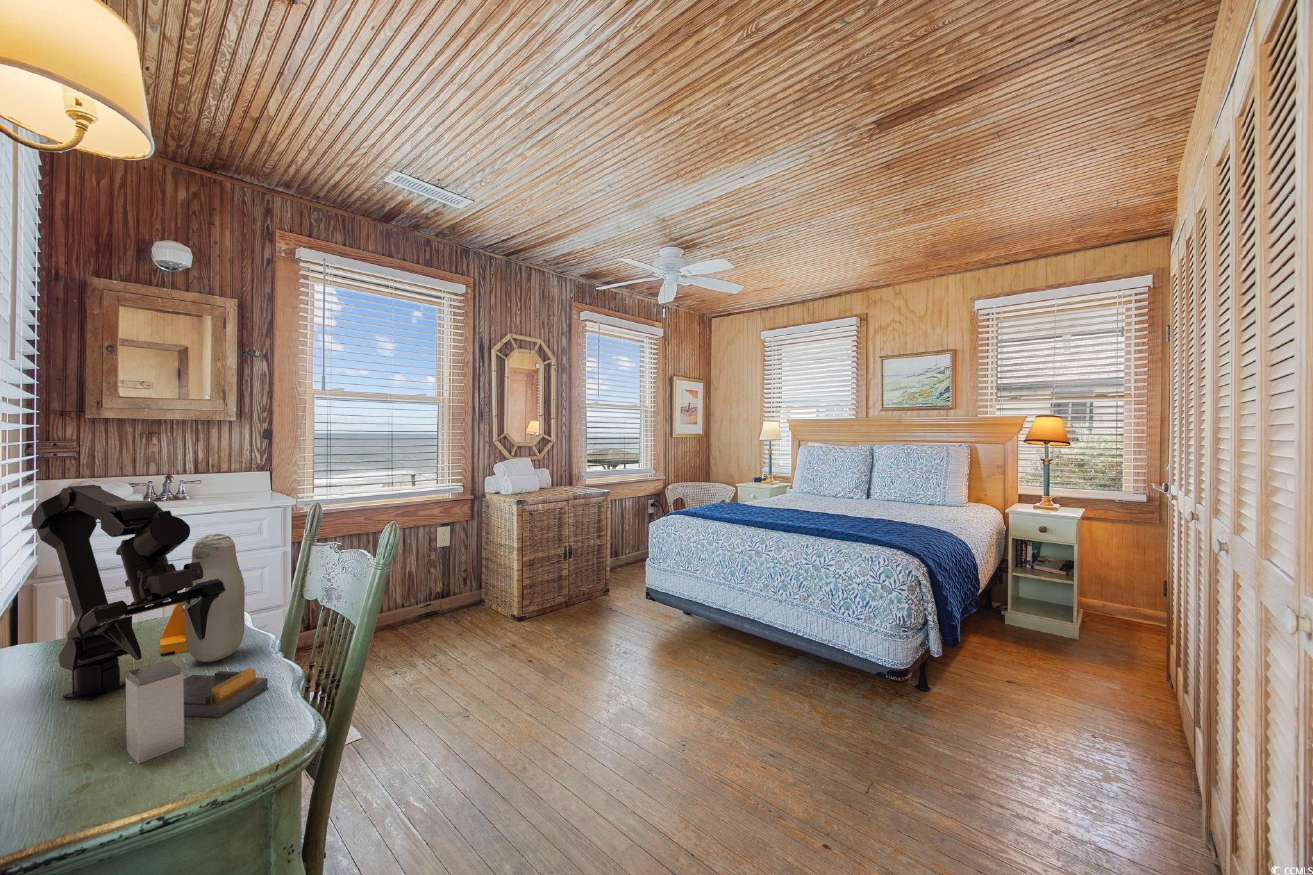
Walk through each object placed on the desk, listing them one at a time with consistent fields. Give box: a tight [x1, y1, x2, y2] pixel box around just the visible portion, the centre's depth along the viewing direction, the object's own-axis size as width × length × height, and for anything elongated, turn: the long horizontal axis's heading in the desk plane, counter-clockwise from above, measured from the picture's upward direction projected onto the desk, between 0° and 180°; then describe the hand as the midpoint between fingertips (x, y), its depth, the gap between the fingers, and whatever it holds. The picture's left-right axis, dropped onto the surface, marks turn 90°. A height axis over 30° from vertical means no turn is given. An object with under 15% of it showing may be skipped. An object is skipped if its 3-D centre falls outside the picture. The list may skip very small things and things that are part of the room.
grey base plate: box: [183, 668, 268, 718], centre depth 104 cm, size 16×11×4 cm
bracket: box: [159, 602, 188, 655], centre depth 128 cm, size 11×7×12 cm, turn 130°
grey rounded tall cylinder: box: [183, 533, 246, 663], centre depth 121 cm, size 10×10×28 cm
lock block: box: [125, 659, 185, 764], centre depth 88 cm, size 6×6×13 cm
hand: (172, 648), depth 96 cm, fingers open, 9 cm apart
